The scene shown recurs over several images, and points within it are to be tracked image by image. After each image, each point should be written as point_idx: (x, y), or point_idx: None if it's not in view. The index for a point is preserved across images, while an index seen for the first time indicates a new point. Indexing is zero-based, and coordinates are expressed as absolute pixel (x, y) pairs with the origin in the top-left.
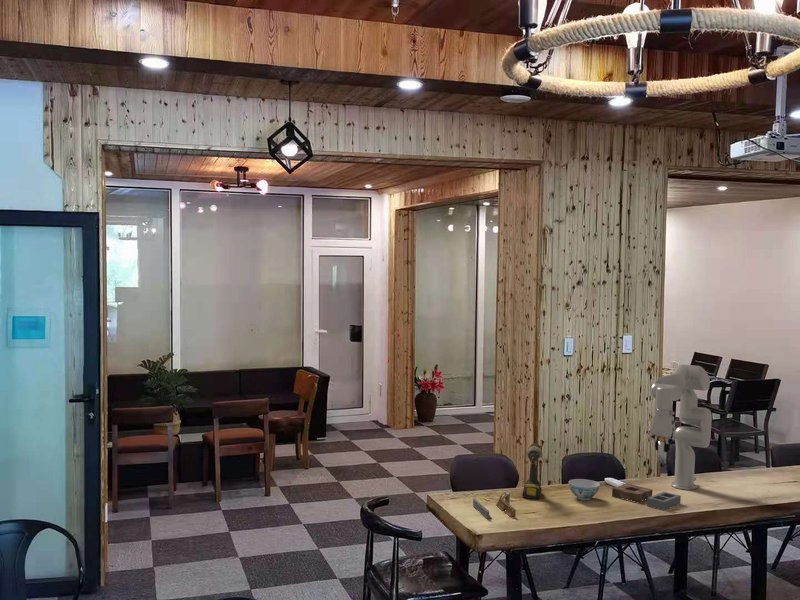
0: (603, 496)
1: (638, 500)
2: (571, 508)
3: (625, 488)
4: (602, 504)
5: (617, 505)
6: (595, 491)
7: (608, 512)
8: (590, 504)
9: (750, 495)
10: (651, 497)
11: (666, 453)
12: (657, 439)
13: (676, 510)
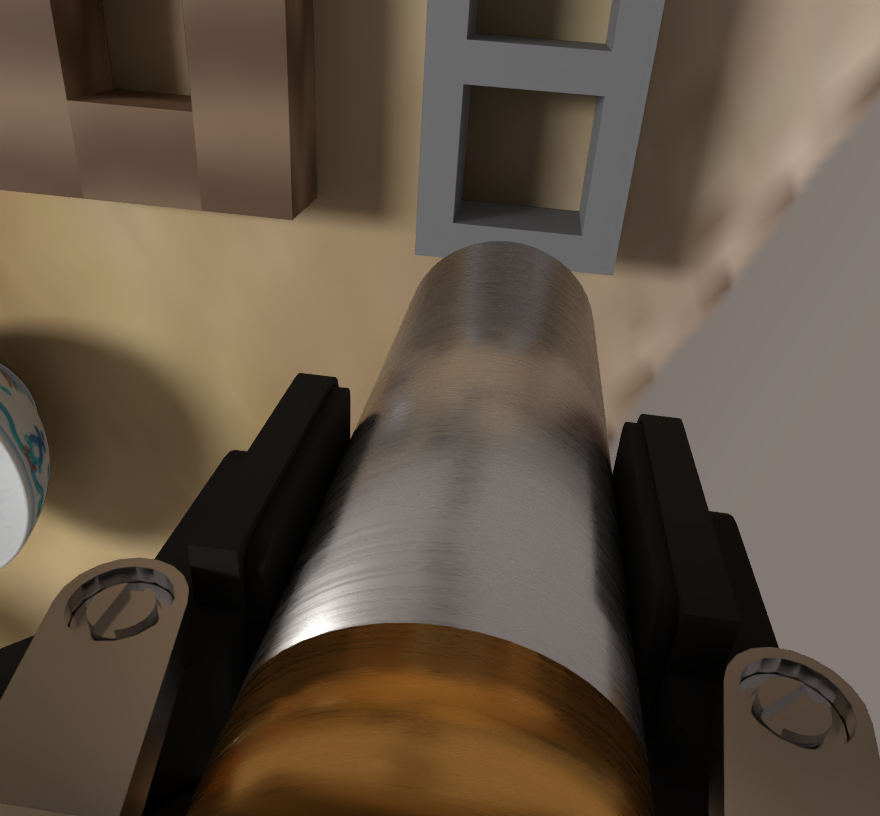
0: (13, 232)
1: (311, 187)
2: None
3: (63, 72)
4: (166, 441)
5: (250, 390)
6: (45, 473)
7: None
8: (118, 493)
9: None
10: (441, 214)
11: (601, 408)
12: (167, 751)
13: (710, 158)
